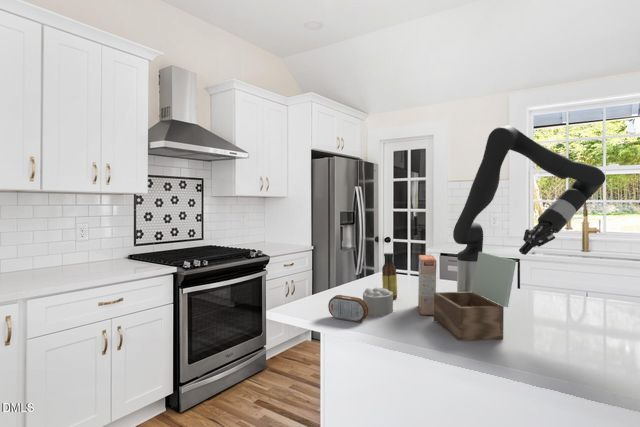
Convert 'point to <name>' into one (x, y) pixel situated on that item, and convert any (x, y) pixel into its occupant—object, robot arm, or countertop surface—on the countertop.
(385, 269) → the sauce bottle
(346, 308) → the tin
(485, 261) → the box lid
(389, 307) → the lumpy-topped squat cylinder
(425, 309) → the cracker box
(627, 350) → the countertop surface
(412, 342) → the countertop surface
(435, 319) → the walnut box
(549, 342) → the countertop surface
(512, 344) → the countertop surface
